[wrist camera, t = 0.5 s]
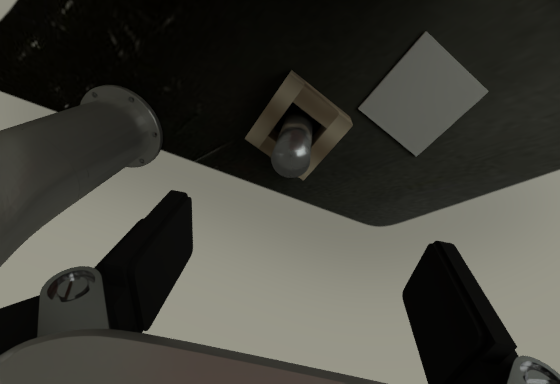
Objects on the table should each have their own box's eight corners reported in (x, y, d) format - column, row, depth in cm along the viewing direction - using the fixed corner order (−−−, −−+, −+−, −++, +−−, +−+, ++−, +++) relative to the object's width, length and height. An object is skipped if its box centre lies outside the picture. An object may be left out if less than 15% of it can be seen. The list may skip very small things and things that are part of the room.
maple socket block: (304, 168, 43) (303, 180, 40) (250, 129, 41) (244, 138, 38) (349, 116, 38) (352, 125, 35) (291, 69, 36) (288, 74, 33)
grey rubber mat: (415, 155, 40) (416, 156, 40) (357, 108, 38) (358, 108, 37) (487, 90, 35) (488, 91, 34) (424, 31, 32) (426, 31, 32)
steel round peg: (301, 142, 41) (294, 184, 30) (279, 125, 40) (263, 163, 29) (318, 120, 39) (318, 157, 28) (296, 103, 38) (286, 133, 27)
